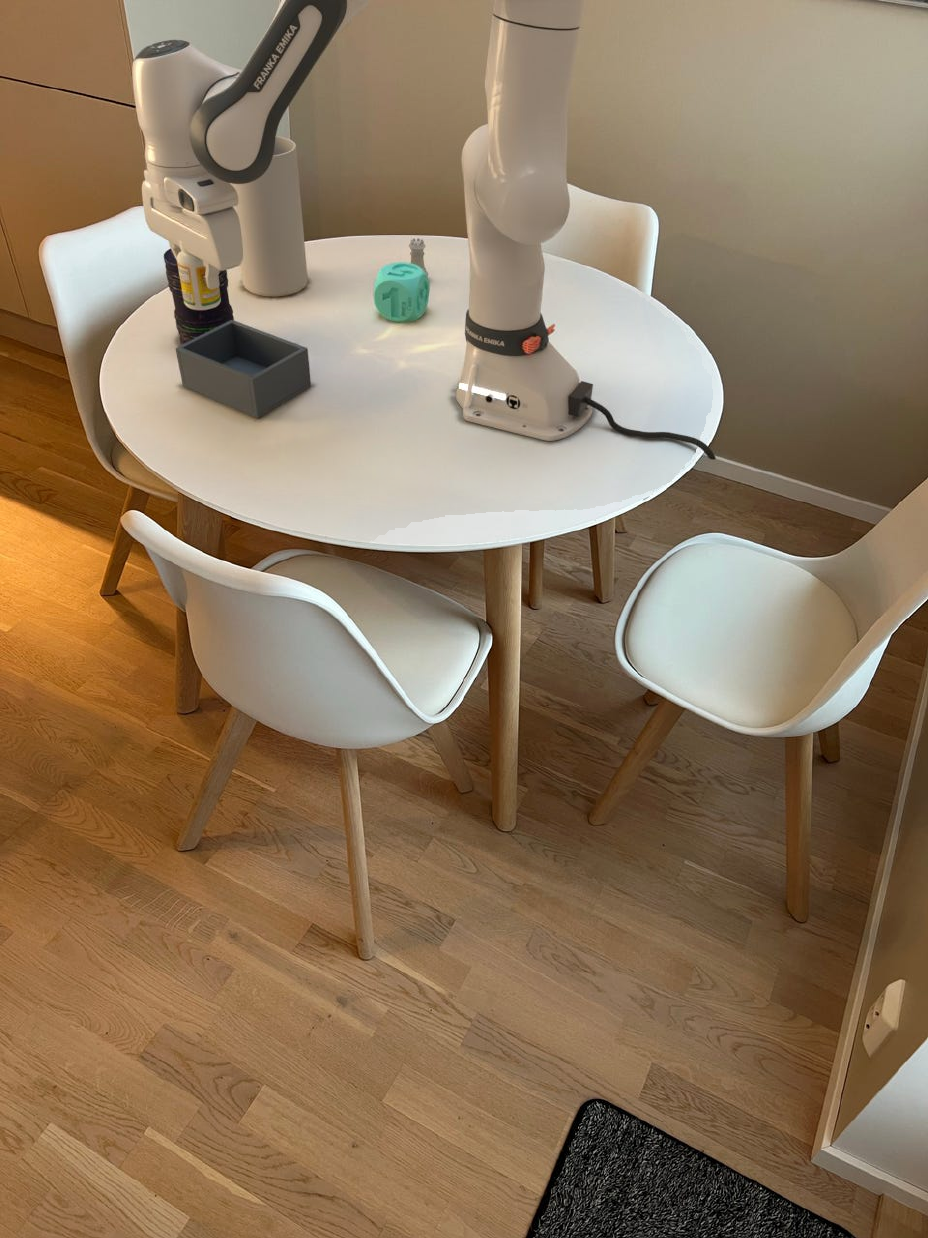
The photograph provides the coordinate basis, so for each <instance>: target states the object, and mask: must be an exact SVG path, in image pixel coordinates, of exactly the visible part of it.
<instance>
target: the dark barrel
mask: <svg viewBox="0 0 928 1238" xmlns="http://www.w3.org/2000/svg"><path fill="white" fill-rule="evenodd" d="M163 261H164V264H165V265H164V266H165V275H166V279H167V286H168V288H169V291H170V292H171V294H172V300H173V305H174V306H173V307H174V310H173V318H174V319H175V327H176V330H177V332H178V333H177V334H178V335H179V342H180V345H182V344H184V343H186V342H188V341H190V340H192V339H194V338H196V337H198V336H200V335H202V334H204V333H206V332H208V331H210V330H212V329H214V328H216V327H218V326H220V325H222V324H224V323H226V322H228V321H230V320H234V321H235V317H234V310H233V307H232V305H231V304H230V296H229V290H228V287H229V278H228V270H224V271H221V270H220V272H219V275H218V277H219V284H220V285H219V289H220V297H221V301H220V304H219V305H218V306H216V307H214V308H211V309H207V310H194V309H190V308H188V307H187V306H186V305H185V303H184V299H183V294H182V288H181V281H180V276H179V270H178V264H177V260H176V258H175V256H174V254H173V252H172V250H171V248H170V247H169V248H168V249H167V250H166V251H165V252H164V253H163Z"/></svg>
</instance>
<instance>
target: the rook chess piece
mask: <svg viewBox="0 0 928 1238" xmlns="http://www.w3.org/2000/svg"><path fill="white" fill-rule="evenodd" d="M408 248H409V249H410V253H409V255H410V263H411V264H415V265H417V266H419V267H420V268H422V269H423V271H424V272H425V273H426V274H427V276H428V277H429V272H428V271H427V268H426V266H425V259H424V256H425V252H424V250H425V248H426V244H425V241H424V239H422V238H421V239H420V238H419V237H417V238H412V239H410V243H409V244H408Z"/></svg>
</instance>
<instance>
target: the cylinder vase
mask: <svg viewBox="0 0 928 1238" xmlns="http://www.w3.org/2000/svg"><path fill="white" fill-rule="evenodd" d="M230 184H231V185H232V186H233V187H234V188H235V189H236V191H237V193H238V200H239V203H238V205H236V206H233V208H234V209H235V210H236V212H237V214H238V217H239V221H240V226H241V234H242V243H243V260H242V262H241V264H240V265H239V268H240V275H241V281H242V286H243V287H244V288H245V289H246V290H247V291H249V292H250V293H251V294H254V295H257V296H262V297H284V296H290V295H293V294H295V293H298V292H300V291H302V290H303V289H305V287H306V286H307V284H308V281H309V280H308V279H309V278H308V277H309V276H308V266H307V255H306V245H305V244H306V243H305V233H304V232H305V231H304V222H303V221H304V219H303V210H302V209H303V208H302V199H301V186H300V176H299V165H298V152H297V144H296V142H294V140H292V139H290V138H288V137H283V136H279V135H276V138H275V146H274V153H273V157H272V161H271V163H270V165H269V167H268V169H267V170H266V172H265V173H264V174H263V175H262V176H261V177H260V178H258V179H256V180H255V181H252V182H250V183H246V184H232V183H230Z"/></svg>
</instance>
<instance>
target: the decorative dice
mask: <svg viewBox="0 0 928 1238" xmlns="http://www.w3.org/2000/svg"><path fill="white" fill-rule="evenodd" d="M430 288H431V287H430V279H429V275H428V276H427V274H426V273H425V272H424V271H423V269H422V268H420V267H419V266H417V265H415V264H411V262H401V261H400V262H392V263H391V262H390V263H387V264H386V265H383V266H382V267H381V268H380V269H379V270H378V273H377V275H376V276H375V281H374V287H373V303H374V306H375V309H376V310H377V312H378V313H379V314H380V315H381V316H382V317H383V318H385V320H388V321H390V322H395V323H411V322H415V321H417V320H419V319H420V318H422V317H423V315H424V314H425V312H426V310H427V307H428V304H429V298H430Z"/></svg>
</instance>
